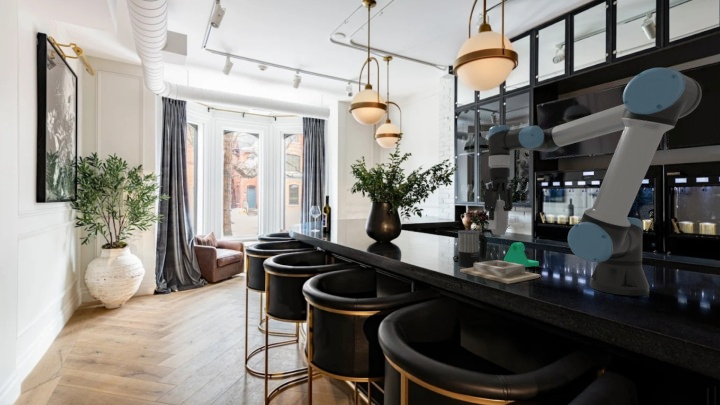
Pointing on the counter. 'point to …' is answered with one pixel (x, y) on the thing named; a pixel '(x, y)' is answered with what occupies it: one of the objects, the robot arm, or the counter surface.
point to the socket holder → (500, 271)
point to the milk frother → (470, 248)
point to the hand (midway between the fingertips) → (498, 228)
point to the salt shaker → (500, 219)
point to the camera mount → (519, 255)
